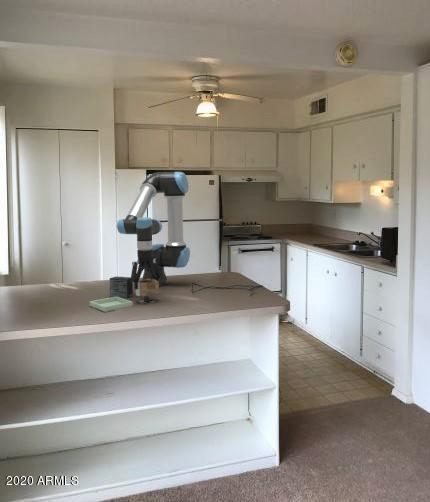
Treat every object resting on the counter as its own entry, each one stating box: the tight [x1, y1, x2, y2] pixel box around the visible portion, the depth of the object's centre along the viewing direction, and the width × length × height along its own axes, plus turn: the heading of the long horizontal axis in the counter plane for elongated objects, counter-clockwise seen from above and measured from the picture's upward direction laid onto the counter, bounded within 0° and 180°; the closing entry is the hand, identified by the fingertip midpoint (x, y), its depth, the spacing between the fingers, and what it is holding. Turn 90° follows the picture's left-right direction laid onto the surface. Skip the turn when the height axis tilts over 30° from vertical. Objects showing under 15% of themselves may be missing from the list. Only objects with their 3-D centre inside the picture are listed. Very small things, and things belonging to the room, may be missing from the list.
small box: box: [109, 276, 134, 299], centre depth 268 cm, size 11×6×10 cm, turn 71°
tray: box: [89, 297, 134, 313], centre depth 249 cm, size 15×15×2 cm
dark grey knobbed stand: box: [138, 295, 155, 305], centre depth 255 cm, size 8×8×10 cm
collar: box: [133, 279, 160, 297], centre depth 255 cm, size 9×9×6 cm
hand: (146, 293), depth 255 cm, fingers closed on collar, 9 cm apart
